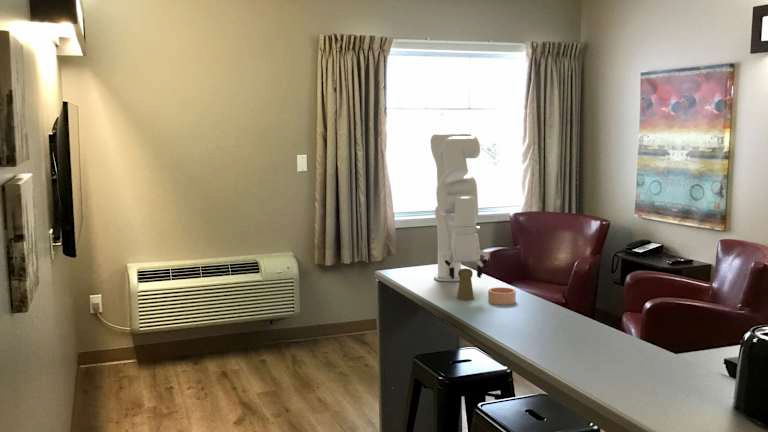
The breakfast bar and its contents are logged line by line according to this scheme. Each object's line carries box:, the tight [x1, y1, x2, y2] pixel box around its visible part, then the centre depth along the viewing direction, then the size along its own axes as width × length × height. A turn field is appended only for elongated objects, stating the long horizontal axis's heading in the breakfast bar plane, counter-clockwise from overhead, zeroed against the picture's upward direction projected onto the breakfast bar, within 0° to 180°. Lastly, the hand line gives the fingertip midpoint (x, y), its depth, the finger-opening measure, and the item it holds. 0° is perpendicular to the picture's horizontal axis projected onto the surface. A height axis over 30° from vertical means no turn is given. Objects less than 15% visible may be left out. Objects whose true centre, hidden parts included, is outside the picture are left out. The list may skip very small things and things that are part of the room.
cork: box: [456, 267, 475, 302], centre depth 250 cm, size 6×6×11 cm
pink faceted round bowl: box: [487, 286, 517, 306], centre depth 245 cm, size 9×9×4 cm
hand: (465, 277), depth 249 cm, fingers open, 9 cm apart
